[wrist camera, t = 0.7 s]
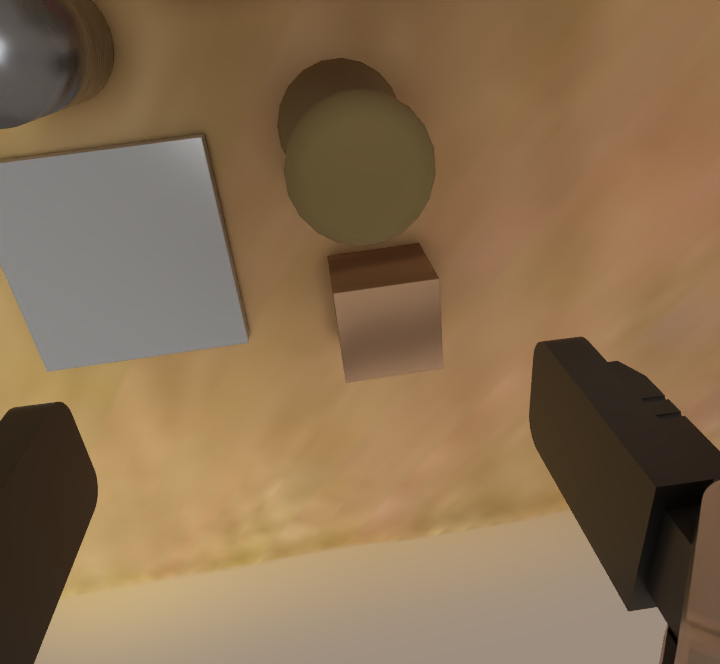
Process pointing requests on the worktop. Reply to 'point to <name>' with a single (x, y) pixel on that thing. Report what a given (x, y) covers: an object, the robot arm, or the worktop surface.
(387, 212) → the brown rounded figure
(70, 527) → the robot arm
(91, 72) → the metal tin
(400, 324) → the walnut block
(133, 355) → the slate tile
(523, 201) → the worktop surface
